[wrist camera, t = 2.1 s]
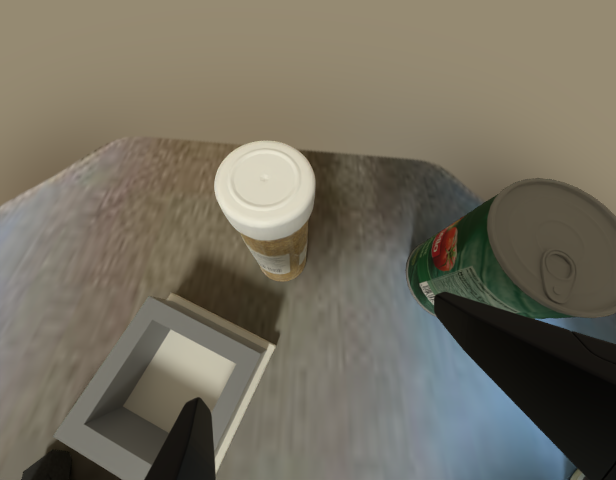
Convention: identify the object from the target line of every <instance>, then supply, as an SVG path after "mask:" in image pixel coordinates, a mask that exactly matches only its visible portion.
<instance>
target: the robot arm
mask: <svg viewBox="0 0 616 480" xmlns="http://www.w3.org/2000/svg"><path fill="white" fill-rule="evenodd" d="M434 312H435V315H436V316H437V318H438V319H439V320H440V321H441V323H442V324H443V325H444V326H445V328H446V329H447V330H448V331H449V333H450V334H451V335H452V336H453V338H454V339H455V340H456V341H457V343H458V344H459V345H460V346H461V347H462V349H463V350H464V351H465V352H466V353H467V354H468V355H469V356H470V357H471V358H472V359H473V360H474V361H475V362H476V364H477V365H478V366H479V367H480V368H481V369H482V370H483V371H484V372H485V373H486V374H487V375H488V376H489V377H490V378H491V379H492V380H493V381H494V382H495V383H496V384H497V385H498V386H499V387H500V388H501V389H502V390H503V391H504V392H505V394H506V395H507V396H508V397H509V398H510V399H511V400H512V401H513V402H514V403H515V404H516V405H517V406H518V407H519V408H520V409H521V410H522V411H523V412H524V413H525V414H526V415H527V416H528V417H529V418H530V419H531V420H532V421H533V422H534V424H535V425H536V426H537V427H538V428H539V429H540V430H541V431H542V432H543V433H544V434H545V435H546V436H547V437H548V438H549V439H550V440H551V441H552V442H553V443H554V444H555V445H556V446H557V447H558V448H559V449H560V450H561V451H562V452H563V454H564V455H565V456H566V457H567V458H568V459H569V460H570V461H571V462H572V463H573V464H574V465H575V466H576V467H577V468H578V469H579V470H580V471H581V472H582V473H583V474H584V475H585V476H586V477H587V478H588V479H589V480H616V344H613V343H610V342H606V341H603V340H600V339H596V338H593V337H590V336H586V335H583V334H580V333H577V332H574V331H572V332H571V331H570V330H567V329H564V328H561V327H558V326H554V325H551V324H548V323H545V322H542V321H538V320H535V319H532V318H529V317H526V316H522V315H519V314H516V313H513V312H510V311H507V310H503V309H500V308H497V307H494V306H491V305H487V304H484V303H481V302H478V301H475V300H471V299H468V298H465V297H462V296H459V295H455V294H452V293H449V292H441V293H439V294H436V295H435V296H434ZM144 480H215V454H214V440H213V426H212V415H211V411H210V409H209V408H208V407H207V405H206V404H205V403H204V401H203V400H202V399H201V398H200V397H196V398H194V399H192V400H189V401H188V402H186V403H185V405H184V406H183V408H182V410H181V412H180V414H179V416H178V418H177V419H176V421H175V423H174V425H173V427H172V429H171V431H170V432H169V434H168V436H167V438H166V440H165V442H164V444H163V445H162V447H161V449H160V451H159V453H158V455H157V457H156V458H155V460H154V462H153V464H152V466H151V468H150V470H149V471H148V473H147V475H146V477H145V479H144Z"/></svg>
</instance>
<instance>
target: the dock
mask: <svg viewBox="0 0 616 480" xmlns="http://www.w3.org/2000/svg"><path fill="white" fill-rule="evenodd" d="M275 347H276V345H275V344H273V343H271V342H269V341H267V340H265V339H263V338H261V337H259V336H257V335H255V334H253V333H251V332H249V331H247V330H245V329H243V328H241V327H239V326H237V325H236V324H234V323H232V322H230V321H228V320H226V319H224V318H222V317H220V316H218V315H216V314H214V313H212V312H210V311H208V310H206V309H204V308H202V307H200V306H198V305H196V304H194V303H192V302H190V301H188V300H186V299H184V298H182V297H180V296H178V295H177V294H173V293H171V294H170V295H169V297H168V298H167V300H165V299H161V298H156V297H151V296H148V298H147V299H146V301H145V302H144V304H143V305H142V307H141V308H140V310H139V311H138V313H137V314H136V316H135V317H134V318H133V320H132V321H131V323H130V324H129V326H128V327H127V329H126V330H125V332H124V333H123V335H122V336H121V337H120V339H119V340H118V342H117V343H116V345H115V346H114V348H113V349H112V351H111V352H110V354H109V355H108V356H107V358H106V359H105V361H104V362H103V364H102V365H101V367H100V368H99V370H98V371H97V373H96V374H95V376H94V377H93V378H92V380H91V381H90V383H89V384H88V386H87V387H86V389H85V390H84V392H83V393H82V395H81V396H80V397H79V399H78V400H77V402H76V403H75V405H74V406H73V408H72V409H71V411H70V412H69V414H68V415H67V416H66V418H65V419H64V421H63V422H62V424H61V425H60V427H59V428H58V430H57V431H56V433H55V434H54V436H53V437H54V438H56V439H58V440H59V441H61V442H63V443H64V444H66V445H67V446H69V447H71V448H72V449H74V450H75V451H77V452H79V453H80V454H82V455H84V456H85V457H87V458H88V459H90V460H92V461H93V462H95V463H96V464H98V465H100V466H101V467H103V468H104V469H106V470H108V471H109V472H111V473H113V474H114V475H116V476H117V477H119V478H121V479H122V480H144V479H145V477H146V475H147V473H148V471H149V470H150V468H151V466H152V464H153V462H154V460H155V458H156V457H157V455H158V453H159V451H160V449H161V447H162V445H163V444H164V442H165V440H166V438H167V436H168V434H169V432H170V431H171V429H172V427H173V425H174V423H175V421H176V419H177V418H178V416H179V414H180V412H181V410H182V408H183V406H184V405H185V403H186V402H188V401H189V400H192V399H194V398H196V397H200V398H201V399H202V400H203V401H204V403H205V404H206V405H207V407H208V408H209V409H210V411H211V415H212V426H213V440H214V454H215V476H216V474H217V472H218V469H219V467H220V465H221V463H222V461H223V459H224V457H225V454H226V452H227V450H228V448H229V446H230V444H231V442H232V439H233V437H234V435H235V433H236V431H237V429H238V427H239V424H240V422H241V420H242V418H243V416H244V414H245V412H246V410H247V407H248V405H249V403H250V401H251V399H252V397H253V395H254V392H255V390H256V388H257V386H258V384H259V382H260V380H261V377H262V375H263V373H264V371H265V369H266V367H267V365H268V362H269V360H270V358H271V356H272V354H273V352H274V350H275Z"/></svg>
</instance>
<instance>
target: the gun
mask: <svg viewBox="0 0 616 480" xmlns="http://www.w3.org/2000/svg"><path fill="white" fill-rule="evenodd" d="M71 461H72V460H71V456H70V454H69V452H68V451H67V452H66V451H65V452H64V451H63V452H62V450H61V451H60V450H59V451H58V450H57V451H56V450H52V451H50V452H49V453H48V454H46V455H45V456H44V457H42V458H41V459H40V460H38V461H37V462H36V463H34V464H33V465H32V466H30V467H29V468H28V469H26V470H25V471H24V472H23V473H24V474H22V475H23V476H22V479H21V480H69V479H68V478H69V473H70V472H69V471H70V468H71V467H70V466H71Z"/></svg>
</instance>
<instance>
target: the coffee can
mask: <svg viewBox="0 0 616 480" xmlns="http://www.w3.org/2000/svg"><path fill="white" fill-rule="evenodd" d="M570 480H589V479H588V478H587V477H586V476H585V475H584V474H583V473H582V472H581V471H580V470H579V469H577V470H576V471H575V472H574V474H573V475H572V477H571V478H570Z"/></svg>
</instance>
